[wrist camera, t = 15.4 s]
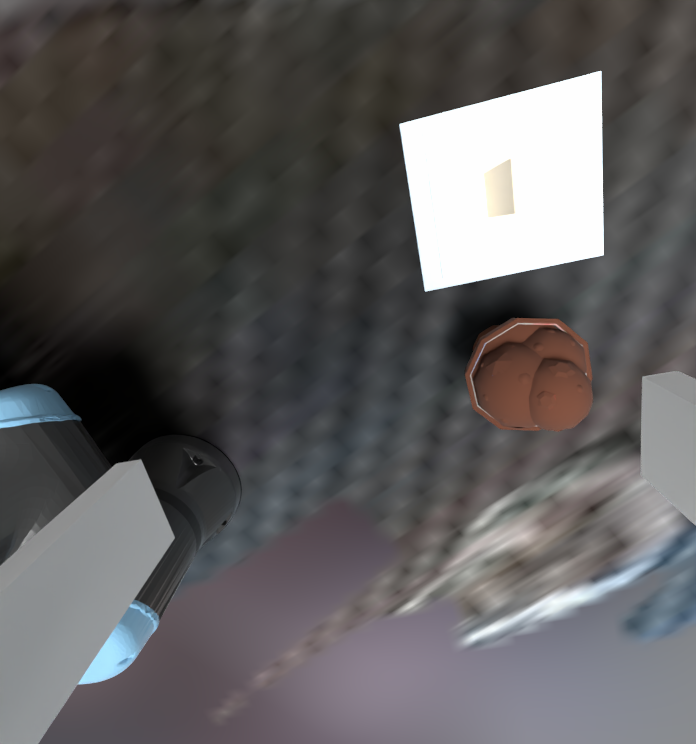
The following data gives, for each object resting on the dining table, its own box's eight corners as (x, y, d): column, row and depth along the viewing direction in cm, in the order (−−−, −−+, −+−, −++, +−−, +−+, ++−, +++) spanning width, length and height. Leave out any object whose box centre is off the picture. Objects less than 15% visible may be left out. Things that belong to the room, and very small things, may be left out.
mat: (424, 290, 43) (425, 291, 42) (399, 125, 38) (399, 123, 37) (600, 254, 40) (603, 254, 40) (597, 73, 36) (601, 70, 35)
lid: (442, 278, 42) (458, 289, 33) (422, 130, 37) (435, 101, 29) (582, 249, 40) (636, 253, 32) (577, 90, 36) (638, 46, 27)
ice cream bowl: (538, 286, 42) (620, 312, 28) (553, 381, 45) (634, 447, 31) (439, 314, 44) (469, 353, 29) (461, 404, 47) (498, 477, 33)
